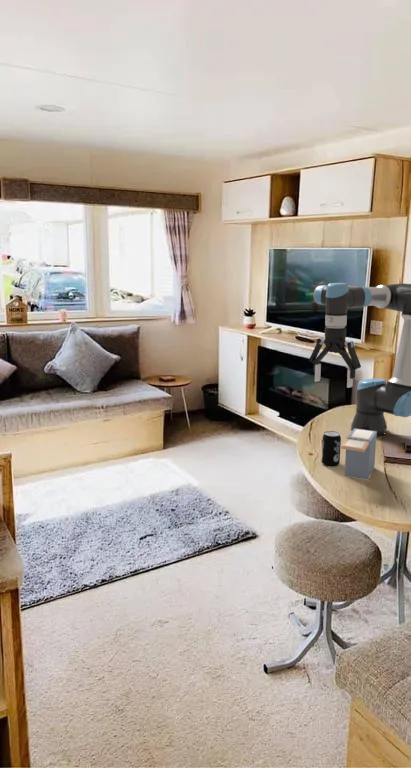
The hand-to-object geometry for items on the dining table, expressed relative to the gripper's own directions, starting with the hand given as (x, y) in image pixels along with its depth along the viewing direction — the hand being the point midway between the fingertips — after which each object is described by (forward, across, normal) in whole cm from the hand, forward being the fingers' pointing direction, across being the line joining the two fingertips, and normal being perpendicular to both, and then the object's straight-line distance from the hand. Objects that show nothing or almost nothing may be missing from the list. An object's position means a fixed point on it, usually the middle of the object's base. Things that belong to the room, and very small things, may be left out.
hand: (333, 384), depth 205 cm
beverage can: (+29, +3, -4) cm, 30 cm away
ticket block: (+29, +14, -4) cm, 33 cm away
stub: (+16, +18, -14) cm, 28 cm away
